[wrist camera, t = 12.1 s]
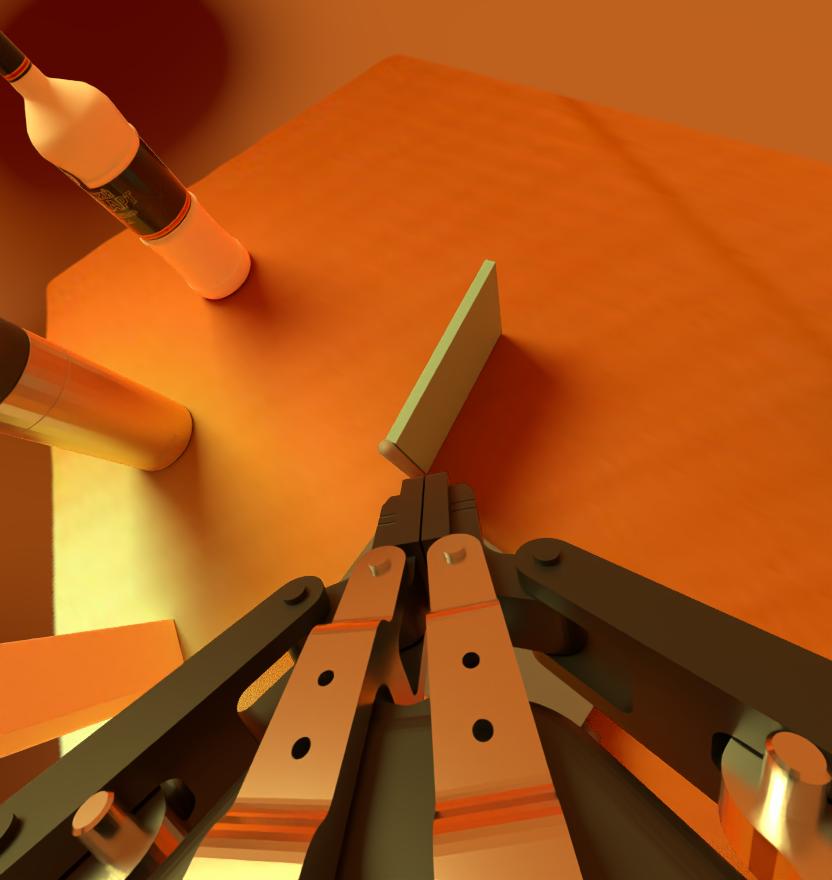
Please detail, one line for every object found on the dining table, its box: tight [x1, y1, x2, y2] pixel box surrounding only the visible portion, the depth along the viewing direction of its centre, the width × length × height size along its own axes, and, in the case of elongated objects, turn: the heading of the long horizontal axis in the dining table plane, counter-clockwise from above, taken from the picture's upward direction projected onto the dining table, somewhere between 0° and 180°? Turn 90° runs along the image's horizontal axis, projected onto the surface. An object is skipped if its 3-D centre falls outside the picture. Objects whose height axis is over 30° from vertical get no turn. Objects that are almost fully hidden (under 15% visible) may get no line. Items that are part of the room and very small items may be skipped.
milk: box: [0, 619, 184, 758], centre depth 29 cm, size 6×6×22 cm
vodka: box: [0, 31, 251, 299], centre depth 41 cm, size 9×9×30 cm
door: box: [378, 260, 502, 478], centre depth 34 cm, size 18×1×10 cm, turn 151°
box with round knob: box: [340, 535, 601, 744], centre depth 31 cm, size 22×12×4 cm, turn 52°
